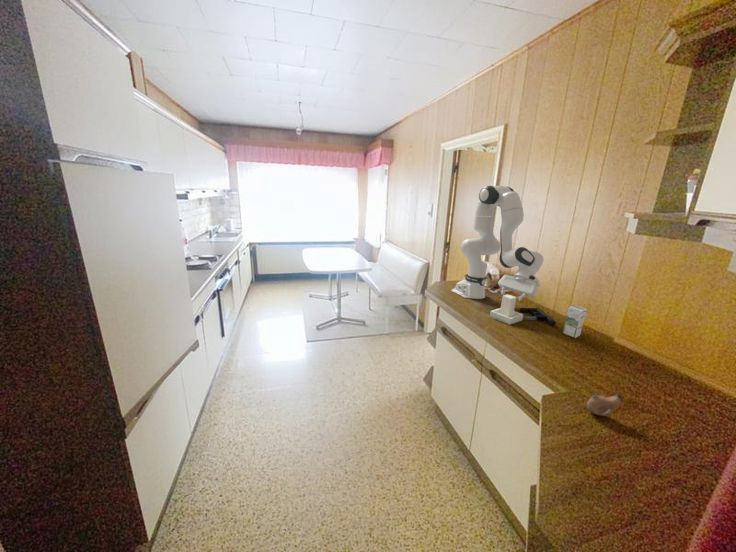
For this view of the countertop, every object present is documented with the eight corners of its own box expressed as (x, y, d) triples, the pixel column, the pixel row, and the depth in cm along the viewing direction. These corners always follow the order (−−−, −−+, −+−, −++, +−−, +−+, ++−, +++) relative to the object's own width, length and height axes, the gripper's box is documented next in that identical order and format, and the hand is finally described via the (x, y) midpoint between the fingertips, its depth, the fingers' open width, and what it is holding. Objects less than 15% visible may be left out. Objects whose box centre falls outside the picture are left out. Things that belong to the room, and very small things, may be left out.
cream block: (499, 316, 158) (502, 295, 154) (504, 314, 160) (507, 294, 157) (507, 319, 154) (511, 298, 150) (512, 317, 156) (516, 297, 153)
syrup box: (580, 335, 140) (587, 308, 136) (574, 338, 137) (581, 310, 133) (567, 330, 145) (574, 304, 141) (561, 333, 142) (568, 306, 138)
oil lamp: (613, 412, 90) (620, 391, 88) (621, 422, 86) (629, 400, 84) (582, 408, 91) (588, 387, 89) (589, 417, 87) (596, 395, 85)
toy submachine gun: (526, 320, 151) (559, 321, 149) (512, 306, 170) (541, 306, 168) (525, 326, 152) (558, 326, 150) (512, 311, 171) (540, 311, 169)
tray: (489, 316, 159) (490, 310, 158) (501, 312, 165) (502, 306, 164) (509, 325, 149) (510, 318, 148) (522, 320, 156) (523, 314, 155)
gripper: (504, 269, 163) (491, 288, 161) (540, 279, 147) (526, 300, 145) (507, 276, 167) (494, 294, 165) (543, 286, 151) (529, 306, 148)
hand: (509, 297), depth 155 cm, fingers open, 8 cm apart
